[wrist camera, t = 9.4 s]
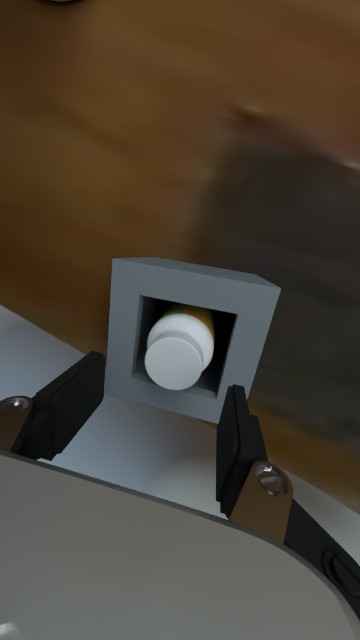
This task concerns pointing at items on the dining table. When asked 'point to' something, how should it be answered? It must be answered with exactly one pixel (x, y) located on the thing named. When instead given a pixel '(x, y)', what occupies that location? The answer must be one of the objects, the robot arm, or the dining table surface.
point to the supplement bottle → (180, 346)
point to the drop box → (194, 289)
